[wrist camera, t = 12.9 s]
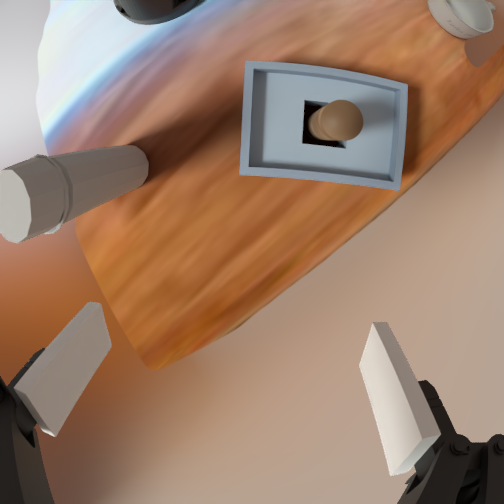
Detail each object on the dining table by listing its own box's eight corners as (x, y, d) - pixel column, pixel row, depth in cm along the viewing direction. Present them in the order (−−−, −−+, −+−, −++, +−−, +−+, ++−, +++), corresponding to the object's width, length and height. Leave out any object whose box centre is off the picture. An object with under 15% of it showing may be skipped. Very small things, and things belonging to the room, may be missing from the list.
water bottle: (147, 137, 39) (25, 149, 16) (155, 187, 42) (46, 247, 18) (97, 151, 40) (-27, 179, 17) (106, 197, 43) (-8, 257, 19)
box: (249, 73, 35) (245, 60, 28) (387, 91, 34) (407, 84, 28) (244, 169, 40) (239, 174, 33) (380, 182, 39) (399, 190, 33)
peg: (305, 110, 36) (323, 96, 23) (333, 114, 36) (364, 103, 23) (303, 138, 38) (321, 137, 25) (331, 141, 38) (361, 143, 25)
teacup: (431, 38, 29) (456, 26, 22) (410, -14, 26) (430, -32, 18) (487, 48, 27) (513, 41, 20) (468, -1, 24) (491, -13, 16)
